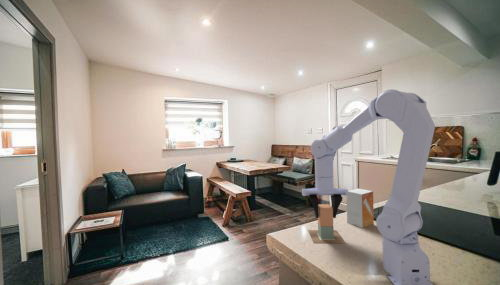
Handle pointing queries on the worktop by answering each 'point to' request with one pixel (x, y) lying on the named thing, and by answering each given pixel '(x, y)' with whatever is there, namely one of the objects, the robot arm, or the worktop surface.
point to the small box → (360, 207)
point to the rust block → (325, 215)
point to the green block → (325, 232)
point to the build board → (318, 240)
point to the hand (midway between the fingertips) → (325, 217)
